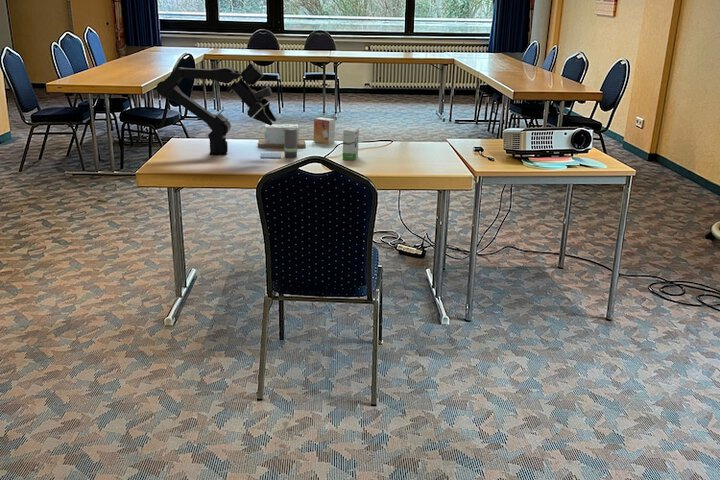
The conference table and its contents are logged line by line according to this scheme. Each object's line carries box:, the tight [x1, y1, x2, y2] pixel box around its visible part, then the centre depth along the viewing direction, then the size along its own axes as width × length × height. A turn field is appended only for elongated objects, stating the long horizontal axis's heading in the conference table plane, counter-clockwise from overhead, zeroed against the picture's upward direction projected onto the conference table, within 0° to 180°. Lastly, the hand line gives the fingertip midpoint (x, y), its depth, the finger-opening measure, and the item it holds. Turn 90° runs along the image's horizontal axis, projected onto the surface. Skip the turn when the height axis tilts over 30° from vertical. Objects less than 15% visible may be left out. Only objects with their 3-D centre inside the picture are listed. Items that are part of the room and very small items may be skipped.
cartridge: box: [283, 128, 298, 159], centre depth 277 cm, size 5×5×11 cm
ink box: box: [342, 126, 360, 161], centre depth 278 cm, size 9×5×12 cm, turn 168°
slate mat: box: [260, 152, 282, 159], centre depth 278 cm, size 8×7×1 cm
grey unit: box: [257, 123, 307, 149], centre depth 298 cm, size 20×10×8 cm, turn 98°
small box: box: [313, 116, 336, 145], centre depth 307 cm, size 8×6×10 cm
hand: (273, 122), depth 275 cm, fingers open, 9 cm apart
